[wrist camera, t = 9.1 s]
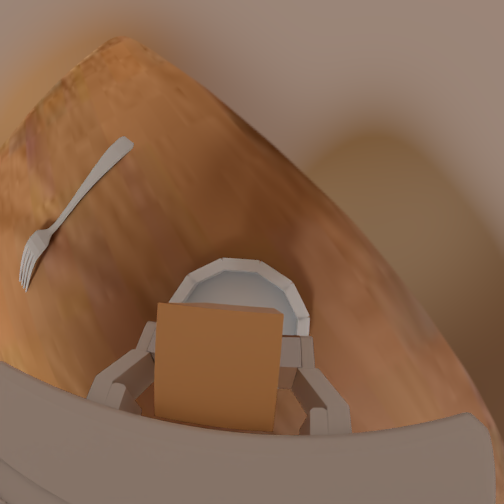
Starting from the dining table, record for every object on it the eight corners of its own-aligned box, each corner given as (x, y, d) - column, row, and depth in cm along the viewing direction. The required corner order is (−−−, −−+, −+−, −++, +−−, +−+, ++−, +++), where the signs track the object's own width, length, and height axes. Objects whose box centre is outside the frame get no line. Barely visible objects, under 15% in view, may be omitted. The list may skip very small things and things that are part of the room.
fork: (146, 156, 28) (139, 142, 26) (28, 298, 23) (12, 295, 21) (131, 145, 29) (123, 131, 26) (17, 281, 24) (2, 277, 21)
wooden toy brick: (201, 367, 16) (154, 415, 8) (205, 302, 17) (158, 302, 9) (268, 373, 16) (272, 431, 8) (273, 307, 16) (283, 314, 9)
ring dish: (168, 384, 22) (162, 389, 20) (177, 257, 23) (171, 253, 22) (299, 396, 21) (301, 403, 20) (309, 266, 23) (313, 263, 22)
